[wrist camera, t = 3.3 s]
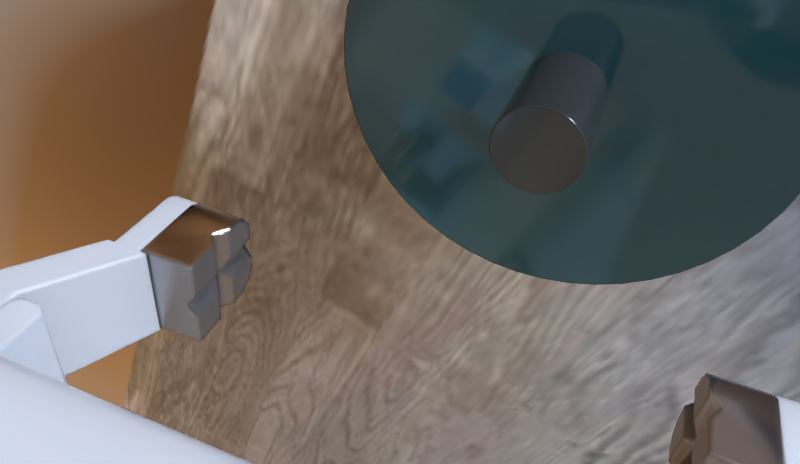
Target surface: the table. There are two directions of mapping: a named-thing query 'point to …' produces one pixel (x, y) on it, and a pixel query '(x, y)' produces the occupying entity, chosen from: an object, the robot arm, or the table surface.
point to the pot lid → (583, 126)
